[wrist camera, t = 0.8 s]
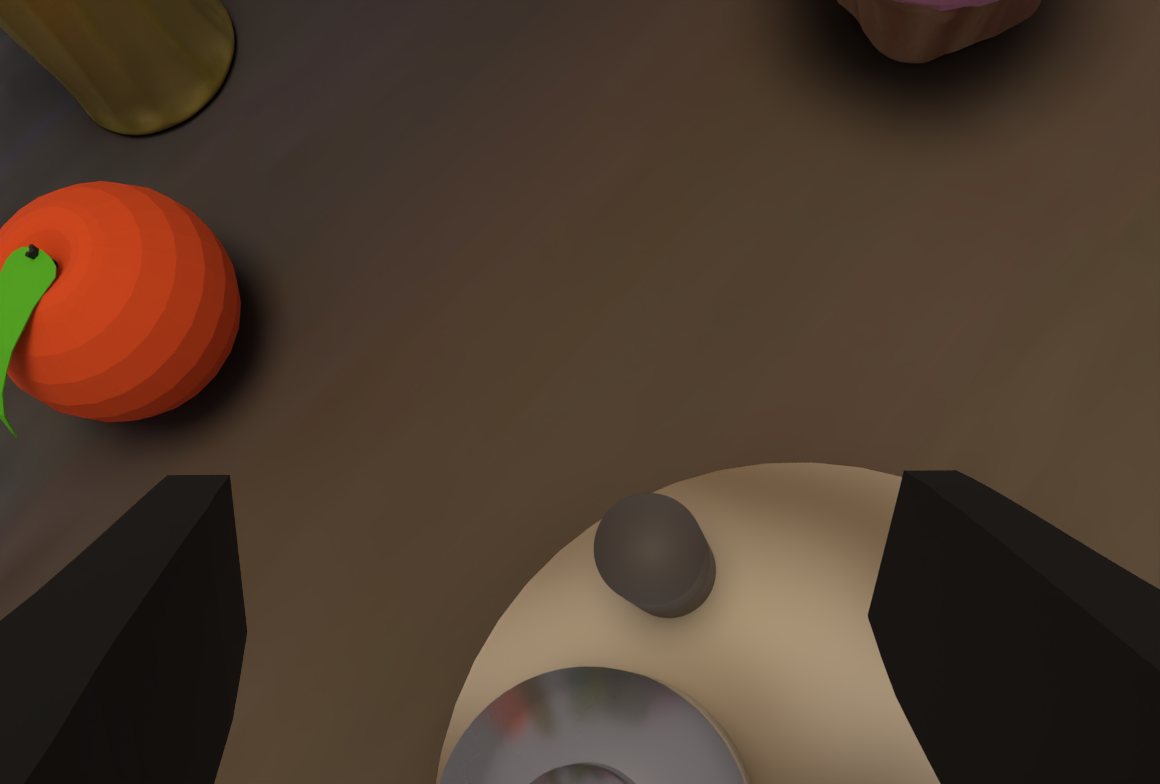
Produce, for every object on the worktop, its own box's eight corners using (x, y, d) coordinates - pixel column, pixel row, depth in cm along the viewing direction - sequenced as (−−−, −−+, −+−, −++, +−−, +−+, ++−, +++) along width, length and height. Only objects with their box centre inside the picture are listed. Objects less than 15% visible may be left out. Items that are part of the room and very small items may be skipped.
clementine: (208, 509, 31) (49, 456, 24) (33, 438, 33) (-159, 371, 26) (316, 275, 33) (195, 166, 26) (143, 220, 35) (-10, 105, 28)
